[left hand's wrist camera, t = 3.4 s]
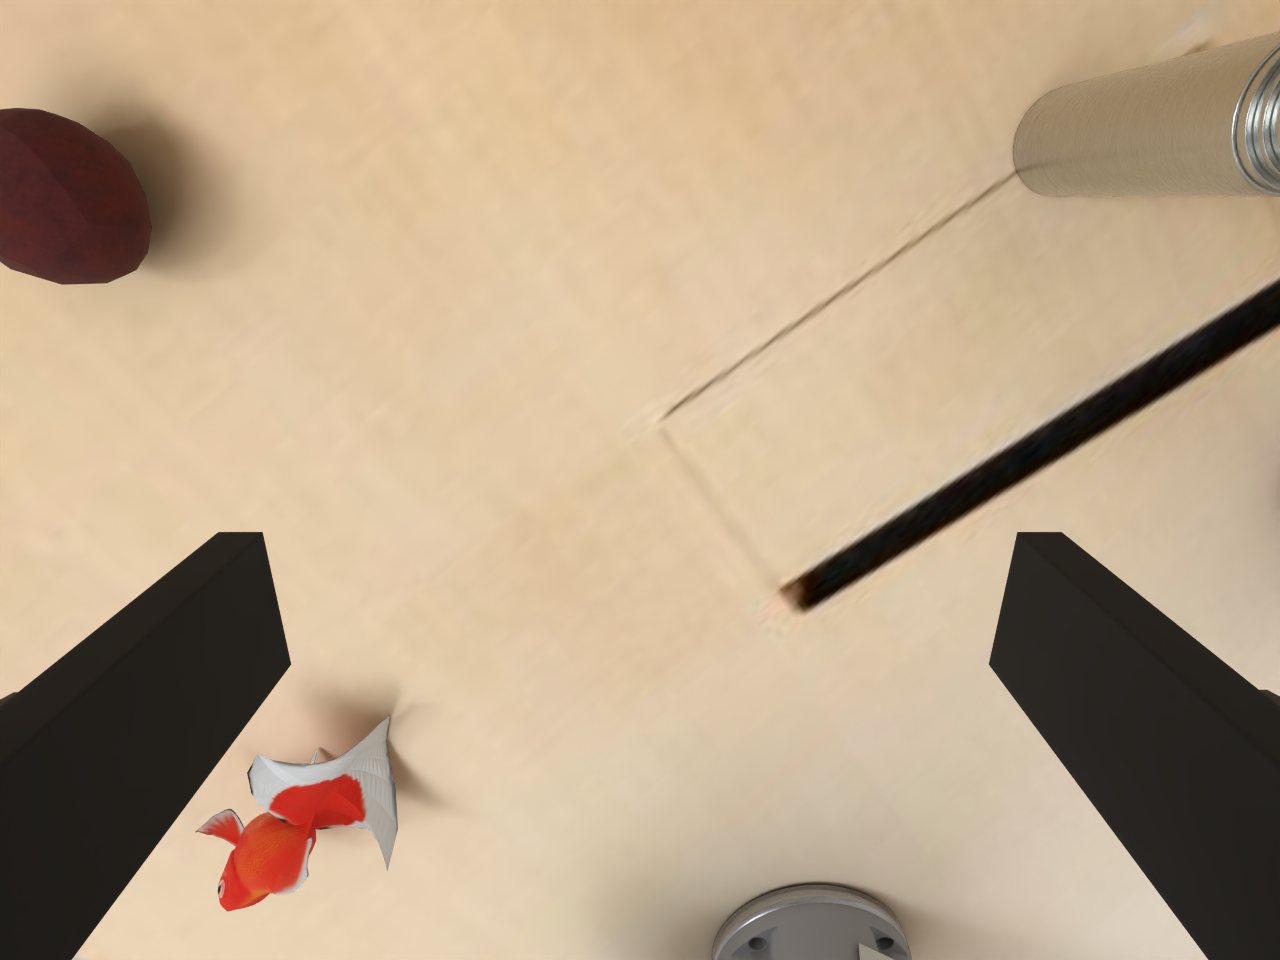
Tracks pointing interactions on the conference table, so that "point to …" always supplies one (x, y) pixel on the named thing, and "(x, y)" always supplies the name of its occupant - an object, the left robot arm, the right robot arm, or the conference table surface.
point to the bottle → (1162, 129)
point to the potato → (67, 201)
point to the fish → (304, 817)
